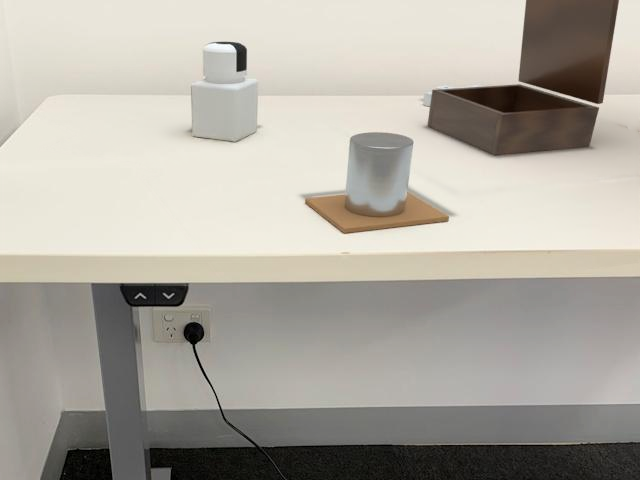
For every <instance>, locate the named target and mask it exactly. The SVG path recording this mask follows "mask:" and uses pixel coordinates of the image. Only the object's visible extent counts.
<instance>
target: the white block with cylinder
mask: <svg viewBox="0 0 640 480" xmlns="http://www.w3.org/2000/svg"><path fill="white" fill-rule="evenodd" d="M247 71H248V49H247V47H246V45H244V44H242V43H240V42H235V41H213V42H209V43H207V44H205V45H204V47H203V48H202V75H203V76H204V77H205V78H204V79H201V80H198V81H195V82H192V83H191V85H190V96H191V97H190V98H191V99H190V100H191V101H190V102H191V103H190V104H191V134H192V136H193V137H197V138H204V139H212V140H217V141H218V140H220V141H227V142H234V143H236V142H238V141H241V140H242V139H244V138H246V137H248V136H251V135H252V134H254V133H256V132H257V131H258V107H259V104H258V103H259V81H258V79H254V78H245V77H246V76H247V75H248V73H247Z"/></svg>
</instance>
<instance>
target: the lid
mask: <svg viewBox="0 0 640 480" xmlns="http://www.w3.org/2000/svg"><path fill="white" fill-rule="evenodd" d="M619 3H620V0H525V5H524V6H525V7H524V17H523V28H522V40H521V47H520V48H521V50H520V60H519V70H518V71H519V72H518V82H520V83H523V84H526V85H530V86H533V87H537V88H540V89H544V90H546V91H547V90H548V91H550V92H555V93H556V94H557V93H558V94H561V95H564V96H568V97H571V98H575V99H578V100H581V101H585V102H588V103H592V104H595V105H600V104H603V103H604V99H605V91H606V85H607V79H608V73H609V68H610V67H609V66H610V60H611V55H612V54H611V53H612V48H613V41H614V35H615V27H616V23H617V16H618V9H619Z"/></svg>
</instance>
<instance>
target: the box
mask: <svg viewBox="0 0 640 480" xmlns="http://www.w3.org/2000/svg"><path fill="white" fill-rule="evenodd" d="M483 86H484V85H483ZM431 92H432V96H431V103H430V106H429V111H428V119H427V127H428V128H430V129H432V130H435V131H436V132H439V133H441V134H444V135H446V136H448V137H450V138H453V139H455V140H457V141H460V142H462V143H464V144H466V145H469V146H471V147H474V148H476V149H479V150H480V151H482V152H485V153H488V154H490V155H492V156H494V157H497V156H498V157H499V156H509V155H517V154H519V155H520V154H531V153H539V152H540V153H541V152H553V151H562V150H572V149H584V148H590V146H591V141H592V139H593V135H594V134H593V133H594V130H595V126H596V122H597V118H598V115H599V110H600V107H599V106H596V105H593V104H592V105H591V104H589V103H585V102H582V101H579V100H576V99H572V98H568V97H565V96H562V95H558V94H555V93H551V92H548V91H544V90H540V89H538V88H535V87H530V86H527V85H524V84H520V83H519V84H518V83H517V84H503V85H501V84H499V85H487V86H486V85H485V86H484V87H468V88H452V89H436V88H435V89H432V90H431Z"/></svg>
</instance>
